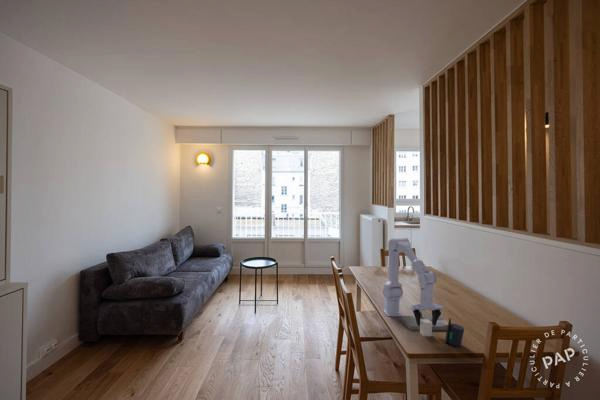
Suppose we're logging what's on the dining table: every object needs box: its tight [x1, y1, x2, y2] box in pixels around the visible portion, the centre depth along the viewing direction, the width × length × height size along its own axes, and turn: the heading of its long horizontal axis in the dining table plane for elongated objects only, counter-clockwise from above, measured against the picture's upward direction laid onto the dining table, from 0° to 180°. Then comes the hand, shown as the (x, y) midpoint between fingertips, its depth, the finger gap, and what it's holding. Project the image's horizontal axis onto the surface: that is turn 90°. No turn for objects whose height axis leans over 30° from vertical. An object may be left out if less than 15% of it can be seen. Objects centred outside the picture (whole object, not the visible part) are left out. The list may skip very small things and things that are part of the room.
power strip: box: [400, 315, 449, 331], centre depth 157 cm, size 13×22×3 cm, turn 91°
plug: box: [419, 319, 433, 337], centre depth 146 cm, size 4×4×6 cm
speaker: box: [445, 317, 465, 348], centre depth 137 cm, size 8×6×10 cm
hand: (426, 325), depth 146 cm, fingers open, 7 cm apart
